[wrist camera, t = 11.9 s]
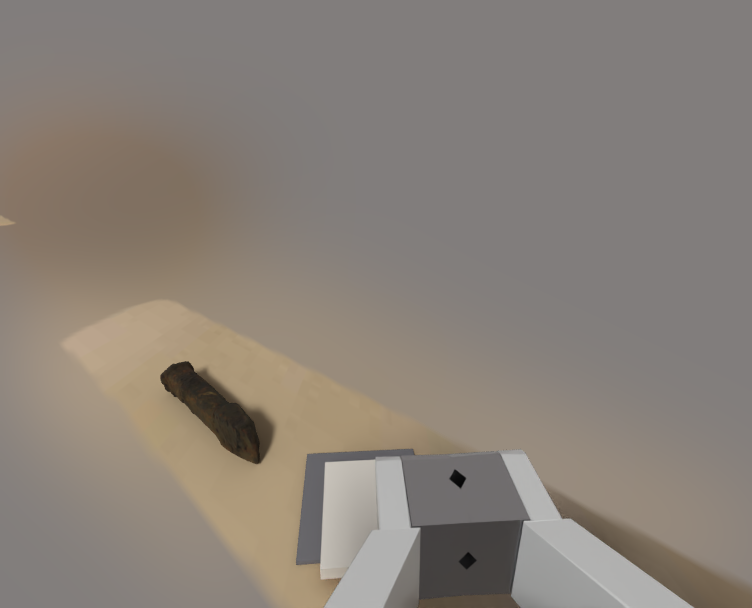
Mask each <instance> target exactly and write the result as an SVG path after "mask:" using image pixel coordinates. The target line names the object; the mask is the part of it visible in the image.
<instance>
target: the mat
mask: <svg viewBox="0 0 752 608" xmlns="http://www.w3.org/2000/svg"><path fill="white" fill-rule="evenodd" d="M408 455H414V452H413V449H399V450H379V451H358V452H338V453H318V454H307V461H306V471H305V480H304V490H303V500H302V509H301V519H300V529H299V538H298V548H297V558H296V565H301V564H315V563H320V562H321V541H322V519H323V498H324V476H325V462H339V461H358V460H375V458H376V457H395V456H400V457H401V456H408Z"/></svg>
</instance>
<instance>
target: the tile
mask: <svg viewBox="0 0 752 608" xmlns="http://www.w3.org/2000/svg"><path fill="white" fill-rule="evenodd" d="M371 530H377V508H376V474H375V460H358V461H339V462H325V476H324V498H323V519H322V541H321V562H320V574H321V579H334V578H342V577H343V576H344V574H345V572H346V571H347V569H348V567H349V566H350V564H351V562H352V561H353V559H354V558H355V556H356V554H357V553H358V551H359V549H360V548H361V546H362V545H363V543H364V541H365V540H366V538H367V536H368V535H369V533H370V532H371Z"/></svg>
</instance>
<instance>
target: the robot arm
mask: <svg viewBox="0 0 752 608" xmlns="http://www.w3.org/2000/svg"><path fill="white" fill-rule="evenodd" d="M375 474H376V508H377V530H371V532H370V533H369V535H368V536H367V538H366V540H365V541H364V543H363V545H362V546H361V548H360V549H359V551H358V553H357V554H356V556H355V558H354V559H353V561H352V562H351V564H350V566H349V567H348V569H347V571H346V572H345V574H344V576H343V577H342V579H341V580H340V582H339V584H338V585H337V587H336V589H335V590H334V592H333V593H332V595H331V597H330V598H329V600H328V602H327V603H326V605H325V606H324V608H417V607H418V604H419V600H420V599H430V598H440V597H451V596H461V595H485V594H511V597H512V598H513V599H514V600H515V602H516V603H517V604H518V605H519V606H520V607H521V608H694V607H692V606H691V605H690V604H688V603H687V602H685V601H684V600H683V599H681V598H680V597H678V596H677V595H676V594H674V593H673V592H672V591H670V590H669V589H667V588H666V587H665V586H663V585H662V584H660V583H659V582H658V581H656V580H655V579H654V578H652V577H651V576H649V575H648V574H647V573H645V572H644V571H642V570H641V569H640V568H638V567H637V566H636V565H634V564H633V563H631V562H630V561H629V560H627V559H626V558H624V557H623V556H622V555H620V554H619V553H618V552H616V551H615V550H613V549H612V548H611V547H609V546H608V545H606V544H605V543H604V542H602V541H601V540H600V539H598V538H597V537H595V536H594V535H593V534H591V533H590V532H588V531H587V530H586V529H584V528H583V527H582V526H580V525H579V524H577V523H576V522H575V521H573V520H572V519H562V517H561V515H560V514H559V512H558V510H557V508H556V506H555V505H554V503H553V501H552V499H551V498H550V496H549V494H548V492H547V490H546V489H545V487H544V485H543V483H542V482H541V480H540V478H539V476H538V474H537V473H536V471H535V469H534V467H533V466H532V464H531V462H530V460H529V458H528V457H527V455H526V453H525V452H524V451H522V450H521V449H518V450H503V451H496V452H494V451H491V452H475V453H459V454H444V455H408V456H401V457H400V456H395V457H376V458H375Z"/></svg>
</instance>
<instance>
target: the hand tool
mask: <svg viewBox="0 0 752 608" xmlns="http://www.w3.org/2000/svg"><path fill="white" fill-rule="evenodd" d="M160 377H161V382H162V384H163V385H164V387H165V389H166V390H167V391H168V392H171V393H172V394H173V396H174V397H176V396H177V397H178V399H179V400H180V401H182V402H183V403H185V404H186V405H187V406H188V407H189V409H190V410H191V412H192V413H193V414H195V415H196V416H197V417H198V418H199V419H200V420H201V421H202V422H203V423H204V424H205V425H206V426H207V427H209V429H210V430H211V431H212V432H213V433H214V434H215V435H216V436H217V438H218V439H219V441H220V443H221V445H222V446H223V447H224V448H226V449H227V450H228V451H230V452H231V453H233V454H235V455H237V456H239V457H241V458H243V459H245V460H247V461H250V462H252V463H255V464H258V463H259V439H258V435H257V432H256V429H255V424H254V422H253V421H252V420H251V419H250V417H249V416H248V415H247V414H246V413H245V412H244V411H243V409H242V408H241V407H240V406H239V405H238V404H236V403H229V402H227V401H226V400H225V398H224V397H222V396H221V395H220V394H219V393H218V392H217V391H216V390H215V389H214V388H213V387H212V386H211V385H209V384H208V383H207V382H206V381H205V380H204V379H203V378H201V377H200V376H199V375H198V374H197V373H195V372H194V368H193V366H192V365H191V363H189V362H186V361H185V362H181V363H177V364H172V365H171V366H170V367H168V369H167V370H165V371H164V372H163V373H162V374H161V376H160Z"/></svg>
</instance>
